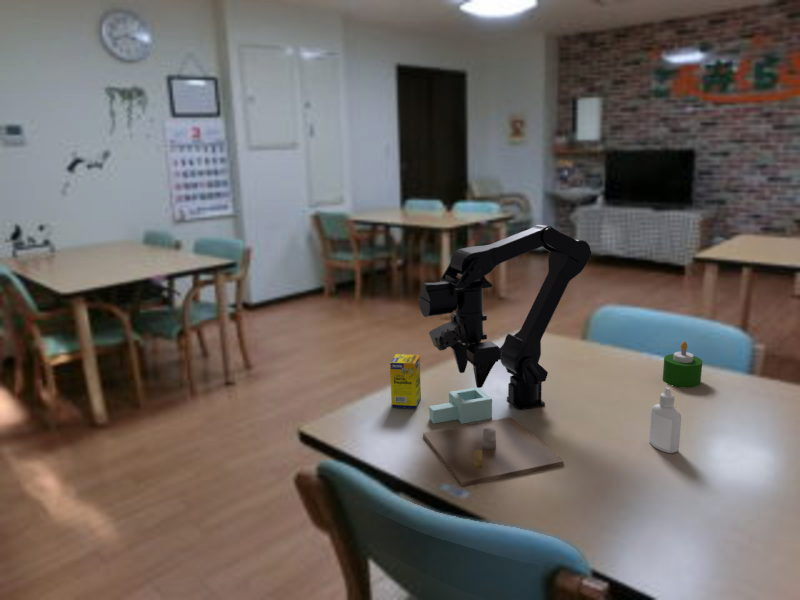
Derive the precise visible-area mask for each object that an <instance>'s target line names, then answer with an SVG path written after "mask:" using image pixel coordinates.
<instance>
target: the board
mask: <svg viewBox="0 0 800 600" xmlns="http://www.w3.org/2000/svg"><path fill="white" fill-rule="evenodd" d="M422 436H423V438H424V440H425V441H426V442H427V444H428V445H429V446H430V447H431V449H432V450H433V451H434V453H435V454H436V456H438V458H439V459H440V460H441V462H442V463H443V464H444V466H445V467H446V468H447V469H448V471H449V472H450V473H451V474H452V476H453V477H454V479H455V480H456V481H457V483H459V485H460V486H461V487H467V486H470V485H471V484H472V485H476V483H477V484H481V483H486V482H490V481H494V480H500V479H505V478H510V477H514V476H518V475H519V476H520V475H523V474H528V473H533V472H537V471H542V470H546V469H551V468H556V467H560V466H562V467H563V466H564V465H565V462H564V460H563V459H562V458H560V456H559V455H557V454H556V452H554V451H552V450H551V448H549V447H548V446H547V445H546V444H544V443H543V442H542V441H541V440H540V439H539V438H538V437H536V436H535V435H534V434H533V433H531V432H530V430H528V428H526V427H525V426H524V425H522V424H521V423H520V422H519V421H518V420H516V418H514V417H513V416H510V417H504V418H498V419H494V420H488V421H483V422H482V421H481V422H478V423H476V422H475V423H472V424H465V425H461V426H459V425H458V426H455V427H449V428H444V429H443V428H442V429H439V430H432V431H427V432H423V434H422ZM472 485H471V486H472Z"/></svg>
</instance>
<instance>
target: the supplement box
mask: <svg viewBox="0 0 800 600" xmlns="http://www.w3.org/2000/svg"><path fill="white" fill-rule="evenodd" d="M420 358H421V355H420V354H405V353H404V354H403V353H396V354H394V356H393V358H392V359H391V360H390V362H389V371H390V372H389V374H390V397H391V408H393V409H395V408H396V409H413V410H414V409H417V408H418V406H419V403H420V401H421V400H422V387H421V386H422V385H421V384H422V383H421V367H420V366H421V361H420V360H421V359H420Z"/></svg>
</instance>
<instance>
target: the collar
mask: <svg viewBox="0 0 800 600" xmlns="http://www.w3.org/2000/svg"><path fill="white" fill-rule="evenodd" d="M428 409H429V411H428V412H429V413H428V414H429V420H430V422H431V423H432V424H438V423H439V424H440V423H444V422H451V421H456V420H458V421H459V423H461V424H462V425H463V424H468V423H473V422H478V421H484V420H489V419H493V399H492V397H490V396H489V395H488V394H487V393H486V392H485V391H484V390H482V389H481V388H477V386H476V387H470V388H463V389H459V390H458V389H457V390H452V391H448V402H447V403H440V404H434V405H429V408H428Z"/></svg>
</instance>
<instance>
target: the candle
mask: <svg viewBox="0 0 800 600" xmlns="http://www.w3.org/2000/svg"><path fill="white" fill-rule="evenodd" d="M680 348H681V349H680V351H676V352H673V353H671V354H666V355H665V356H663V357H664V358H663V366H662V367H663V368H662V369H663V370H662V382H663V383H665V382H666V383H668V384H667V385H669V384H670V385H669V386H671V385H673V386H672V387H675V386H676V388H681V387H682V388H683V389H691V388H692V387H693V388H697V387H699V386H701V380H702V368H703V360H702V359H701V358H700V357H698V356H694V353H691V352H688V351H687V350H688V343H687V341H682V343H681V344H680ZM666 383H665V384H666ZM684 387H685V388H684Z"/></svg>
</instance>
